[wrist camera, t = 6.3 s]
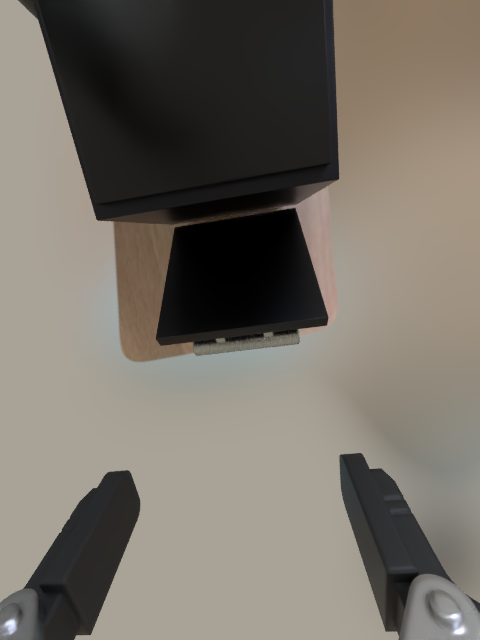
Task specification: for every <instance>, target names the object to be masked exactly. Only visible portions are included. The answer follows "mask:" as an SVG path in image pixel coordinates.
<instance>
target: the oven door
mask: <svg viewBox="0 0 480 640" xmlns="http://www.w3.org/2000/svg"><path fill="white" fill-rule="evenodd" d="M327 322H328V314H327V311H326V308H325V305H324V301H323V298H322V295H321V291H320V288H319V285H318V281H317V278H316V275H315V271H314V268H313V265H312V261H311V258H310V255H309V251H308V248H307V245H306V241H305V238H304V235H303V232H302V228H301V225H300V222H299V218H298V215H297V212H296V208H292V209H286V210H280V211H273V212H267V213H261V214H255V215H249V216H243V217H237V218H230V219H224V220H218V221H212V222H206V223H200V224H194V225H188V226H181V227H175V229H174V235H173V241H172V247H171V253H170V259H169V265H168V270H167V276H166V282H165V288H164V294H163V300H162V306H161V312H160V318H159V324H158V329H157V335H156V340H157V341H158V343H159V344H160V345H161V346H162V345H171V344H179V343H187V342H193V349H194V353H195V355H196V356H199V355H208V354H217V353H225V352H233V351H242V350H250V349H259V348H267V347H277V346H285V345H294V344H299V342H300V341H299V331H298V329H302V328H310V327H318V326H326V325H327Z"/></svg>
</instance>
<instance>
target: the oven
mask: <svg viewBox="0 0 480 640" xmlns="http://www.w3.org/2000/svg"><path fill="white" fill-rule="evenodd" d="M33 3H34V7H35V10H36V13H37V17H38V20H39V24H40V27H41V31H42V34H43V37H44V41H45V44H46V48H47V51H48V54H49V58H50V61H51V65H52V68H53V72H54V75H55V78H56V82H57V85H58V89H59V92H60V96H61V99H62V102H63V106H64V109H65V113H66V116H67V120H68V123H69V126H70V130H71V133H72V137H73V140H74V144H75V147H76V151H77V154H78V157H79V161H80V164H81V168H82V171H83V174H84V178H85V181H86V185H87V188H88V192H89V195H90V198H91V202H92V205H93V208H94V212H95V216H96V219H97V220H98V221H116V222H135V223H153V224H171V225H173V224H179V223H185V222H191V221H197V220H203V219H209V218H216V217H222V216H228V215H234V214H240V213H246V212H252V211H258V210H264V209H270V208H276V207H282V206H289V205H295V204H298V203H299V202H301V201H303V200H304V199H306V198H308V197H310V196H311V195H313V194H315V193H316V192H318V191H320V190H321V189H323V188H325V187H326V186H328V185H330V184H331V183H333V182H335V181H336V180H338V179H339V163H338V162H339V161H338V133H337V105H336V79H335V78H336V77H335V51H334V22H333V0H33Z"/></svg>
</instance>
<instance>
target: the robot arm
mask: <svg viewBox="0 0 480 640" xmlns="http://www.w3.org/2000/svg"><path fill="white" fill-rule="evenodd" d="M340 478H341V491H342V496H343V500H344V504H345V508H346V511H347V514H348V517H349V520H350V523H351V526H352V529H353V532H354V535H355V538H356V541H357V544H358V548H359V551H360V553H361V557H362V559H363V563H364V566H365V569H366V572H367V575H368V578H369V581H370V584H371V587H372V590H373V594H374V597H375V600H376V603H377V606H378V609H379V612H380V615H381V618H382V621H383V624H384V627H385V630H386V631H397V632H398V635H399V640H480V603H478V602H477V601H475V600H473V599H472V598H471V597H469V596H468V595H467V594H465V593H464V592H463V591H462V590H461V589H459V587H457V586H456V585H455V583H454V582H452V580H451V579H450V578H449V576H448V575H447V574H446V572H445V571H444V569H443V567H442V565H441V564H440V562H439V560H438V558H437V557H436V555H435V553H434V551H433V550H432V548H431V546H430V544H429V542H428V540H427V538H426V537H425V535H424V533H423V531H422V529H421V528H420V526H419V524H418V522H417V521H416V519H415V517H414V515H413V514H412V513H411V510H410V508H409V506H408V504H407V502H406V501H405V500H404V498H403V495H402V493H401V492H400V490H399V488H398V486H397V485H396V483H395V481H394V480H393V479H392V478H391V477H390V476H389V475H388V474H386V473H385V472H384V471H383V470H382V469H369V467H368V465H367V463H366V460H365V458H364V457H363V455H362V454H361V453H356V454H343V455H340ZM139 512H140V498H139V495H138V492H137V490H136V487H135V484H134V481H133V478H132V475H131V473H130V471H128V470H127V471H114V472H108V473H107V474H106V475H105V476H104V478H103V479H102V481H101V483H100V484H99V486H98V487H97V488H93V489H92V490H91V491H90V492H89V493H88V494H87V495H86V496H85V497H84V498H83V499H82V500H81V501H80V502H79V504H78V505H77V507H76V508H75V510H74V511H73V513H72V514H71V516H70V519H69V520H68V521H67V522H66V524H65V525H64V527H63V529H62V532H61V533H59V535H58V536H57V538H56V539H55V541H54V542H53V544H52V546H51V547H50V549H49V550H48V552H47V553H46V555H45V556H44V558H43V560H42V561H41V563H40V565H39V566H38V567H37V569H36V570H35V572H34V574H33V575H32V577H31V578H30V580H29V581H28V583H27V584H26V586H25V587H24V588H23V589H22V590H20V591H17V592H15V593H13V594H11V595H10V596H8V597H7V598H6V599H4V600H3V601H2V602H1V603H0V640H74V639H75V636H76V635H91V633H92V630H93V628H94V626H95V623H96V621H97V618H98V616H99V613H100V611H101V608H102V606H103V603H104V601H105V598H106V596H107V593H108V591H109V588H110V586H111V584H112V581H113V578H114V576H115V574H116V571H117V569H118V566H119V564H120V561H121V559H122V556H123V554H124V551H125V549H126V547H127V544H128V542H129V539H130V537H131V534H132V531H133V529H134V527H135V524H136V522H137V519H138V516H139Z"/></svg>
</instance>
